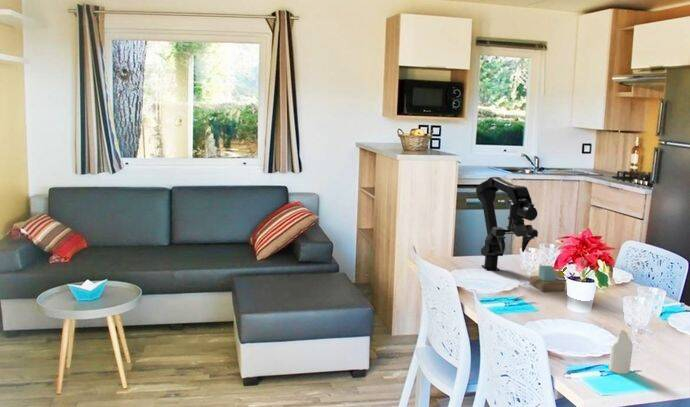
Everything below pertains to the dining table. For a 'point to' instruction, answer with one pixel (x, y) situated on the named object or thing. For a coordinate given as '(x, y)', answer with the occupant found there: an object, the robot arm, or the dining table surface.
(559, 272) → the supplement bottle
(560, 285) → the walnut block
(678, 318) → the dining table surface
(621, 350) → the beige bottle
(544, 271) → the teal cube
